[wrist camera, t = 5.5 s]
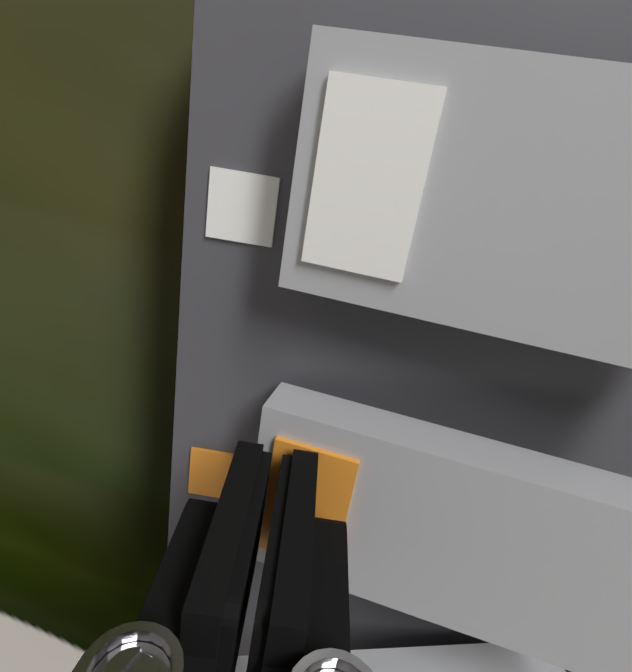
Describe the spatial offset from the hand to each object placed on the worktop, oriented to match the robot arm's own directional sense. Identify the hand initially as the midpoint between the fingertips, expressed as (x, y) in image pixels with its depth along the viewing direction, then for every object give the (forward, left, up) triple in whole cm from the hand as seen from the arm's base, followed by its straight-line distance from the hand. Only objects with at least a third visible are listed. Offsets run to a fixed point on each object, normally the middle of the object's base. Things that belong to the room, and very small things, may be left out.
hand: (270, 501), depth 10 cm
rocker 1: (-4, -7, 0) cm, 8 cm away
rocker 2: (-4, 0, 0) cm, 4 cm away
